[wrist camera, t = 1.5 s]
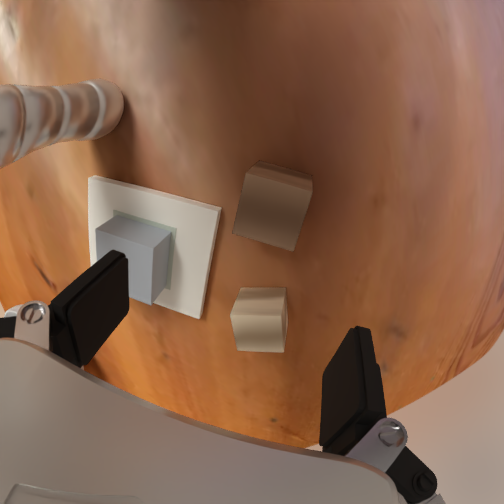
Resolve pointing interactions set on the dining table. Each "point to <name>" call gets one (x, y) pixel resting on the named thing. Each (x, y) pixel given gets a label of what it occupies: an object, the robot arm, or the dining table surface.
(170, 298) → the board
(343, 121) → the dining table surface
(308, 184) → the walnut block
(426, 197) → the dining table surface
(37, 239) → the dining table surface
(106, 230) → the base block
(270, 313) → the birch block
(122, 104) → the plastic bottle
